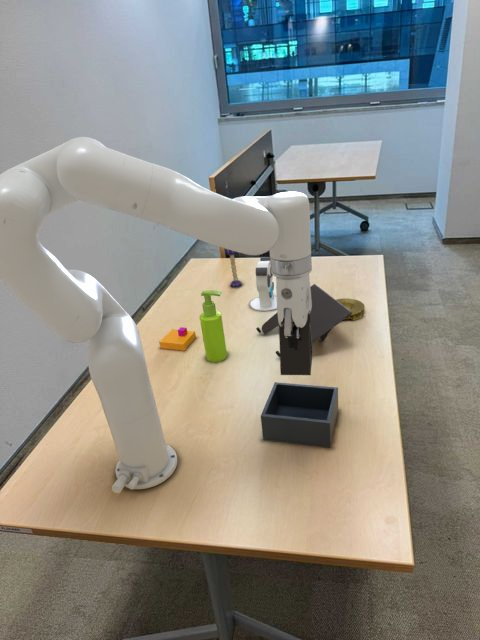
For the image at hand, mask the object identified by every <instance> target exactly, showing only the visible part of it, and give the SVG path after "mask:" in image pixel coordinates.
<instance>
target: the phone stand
mask: <svg viewBox="0 0 480 640" xmlns="http://www.w3.org/2000/svg"><path fill="white" fill-rule="evenodd" d="M309 312H310V310H309ZM278 323H279V322H278ZM292 329H294V330H295V331H296V327H292ZM278 331H279V332H278V335H279V337H278V339H279V341H278V342H279V353H280V358H279V368H280V376H311V375H312V374H311V373H312V364H313V354H314V353H313V352H314V349H313V343H312V336H311V324H310V314H309V313H308V317H307V322H306V324H305V326H304V327H302V328H300V337H301V341H300V340H297V350H294V348H289V341H288V338H285V336H284V325H283V327H281V326H280V325H279V326H278Z"/></svg>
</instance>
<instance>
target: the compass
mask: <svg viewBox="0 0 480 640" xmlns="http://www.w3.org/2000/svg"><path fill="white" fill-rule="evenodd" d="M335 300H337V301H338V302H339V303H341V304H342V305H343V306H344V307H346V308H347V309H348V310H350V311H351V312H352V314H351V315H349V316H347V317H346V318H345V319H344V320H352V321H356V320H359V319H361V318H362V317H363V315H364V313H365V303H364V302H362V301H360V300H359V299H355V298H349V297H348V298H347V297H346V298H345V297H344V298H343V297H342V298H337V299H335Z"/></svg>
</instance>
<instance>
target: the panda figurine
mask: <svg viewBox="0 0 480 640" xmlns="http://www.w3.org/2000/svg"><path fill="white" fill-rule="evenodd" d="M273 277H274V276H273V275H272V273H271V263H270V256H260V260H259V261H258V262H257V264H256V267H255V285H256V290H257V292H258V297H255V298H254V299H252V300H251V301H250V304H249V306H250V308H251V309H252V310H255V311H260V312H270V311H274V310H277V295H274V289H275V283H274V281H273Z"/></svg>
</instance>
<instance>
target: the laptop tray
mask: <svg viewBox="0 0 480 640" xmlns="http://www.w3.org/2000/svg"><path fill="white" fill-rule="evenodd" d="M310 288H311V300H312V308H311V312H310V324H311V336H312V344H313V343H314V342H316V341H318V340H319V339H320V341H321V342H324V341H325V340H326V338H327V337H328V336H329V334H330V332H331V331H332V330H333V329H334V328H335V327H336V326H337V325H339V324H340V323H342V322H343V321H344V320H346V319H345V318H346V317H347V316H349V315H351V314H352V312H351V311H350V310H348V309H347V308H346V307H344V306H343V305H342V304H341V303H339V302H338V301H337V300H336V299H335V298H334V297H333V296H332V295H330V294H329V293H328V292H326V291H325V290H324V289H322V288H321V287H320V286H319V285H317V284H316V283H313V284H312V285H310ZM276 328H279V323H278V314H277V312H276V313H274V314H272V316H271V317H270V318H269V319H267V320H266V321H265V322H264V323H263V324H262V325H261V329H260V327H259V326H258V327H256V328H255V329H256V331H257V333H258V334H259V335H261V336H262V335H264V334H268V333H269V332H271V331H273V330H275V329H276ZM275 354H276V356H277V357H278V358H279V359H280V350H276V351H275Z"/></svg>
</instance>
